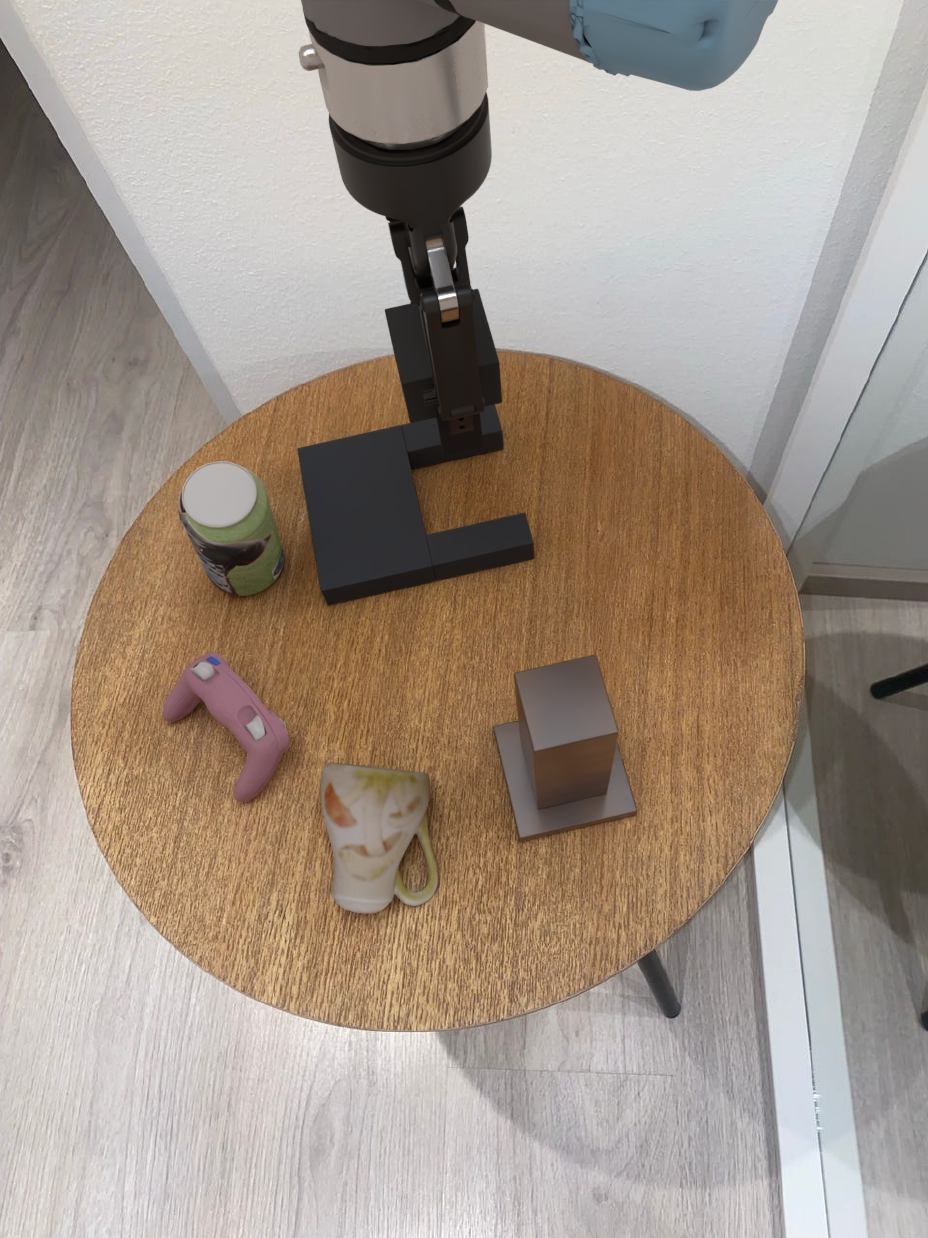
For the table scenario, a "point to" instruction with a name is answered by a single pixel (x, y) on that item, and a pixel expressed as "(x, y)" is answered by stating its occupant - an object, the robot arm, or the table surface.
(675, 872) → the table surface
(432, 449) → the base pad
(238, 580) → the beverage can
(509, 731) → the stand
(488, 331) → the black square block
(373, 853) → the mug
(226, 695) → the video game controller
